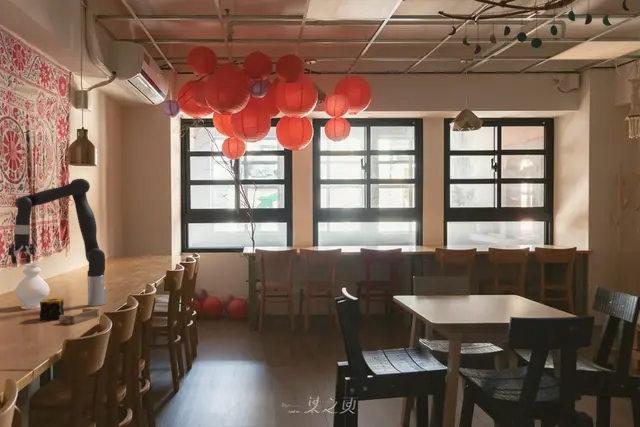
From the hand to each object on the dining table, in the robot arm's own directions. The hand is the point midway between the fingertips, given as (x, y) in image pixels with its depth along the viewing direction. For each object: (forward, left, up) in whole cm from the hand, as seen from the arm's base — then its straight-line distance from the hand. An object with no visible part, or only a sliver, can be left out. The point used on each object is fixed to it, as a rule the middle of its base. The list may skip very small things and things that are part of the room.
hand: (20, 262), depth 310 cm
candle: (-1, +25, -28) cm, 38 cm away
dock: (-5, +42, -28) cm, 50 cm away
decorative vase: (-16, -15, -28) cm, 36 cm away
